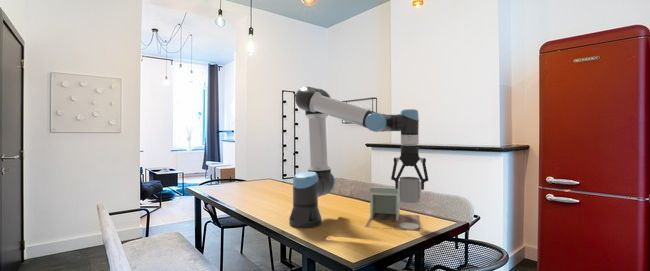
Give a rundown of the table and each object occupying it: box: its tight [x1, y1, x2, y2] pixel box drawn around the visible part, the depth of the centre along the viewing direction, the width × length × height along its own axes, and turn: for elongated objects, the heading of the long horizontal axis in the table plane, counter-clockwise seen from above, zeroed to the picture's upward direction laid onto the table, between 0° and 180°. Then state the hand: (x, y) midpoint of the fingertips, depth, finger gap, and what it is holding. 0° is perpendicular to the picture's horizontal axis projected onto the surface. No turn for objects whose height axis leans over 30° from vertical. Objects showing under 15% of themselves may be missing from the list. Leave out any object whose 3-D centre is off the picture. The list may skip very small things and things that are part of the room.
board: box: [364, 213, 421, 232], centre depth 149 cm, size 23×26×2 cm
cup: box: [399, 176, 421, 204], centre depth 140 cm, size 8×8×10 cm
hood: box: [369, 186, 401, 221], centre depth 156 cm, size 13×12×15 cm
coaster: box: [399, 223, 419, 229], centre depth 140 cm, size 9×9×1 cm
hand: (409, 196), depth 140 cm, fingers closed on cup, 8 cm apart
